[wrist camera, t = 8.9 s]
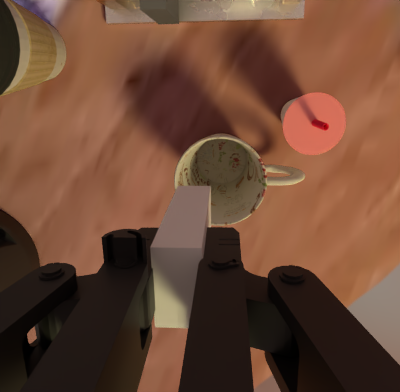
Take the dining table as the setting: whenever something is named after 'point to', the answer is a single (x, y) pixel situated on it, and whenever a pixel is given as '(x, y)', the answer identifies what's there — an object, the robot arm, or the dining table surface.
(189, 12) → the metal rod stand
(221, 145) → the mug
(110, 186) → the dining table surface
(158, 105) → the dining table surface
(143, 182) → the dining table surface
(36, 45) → the coffee cup
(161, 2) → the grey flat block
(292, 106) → the cup
